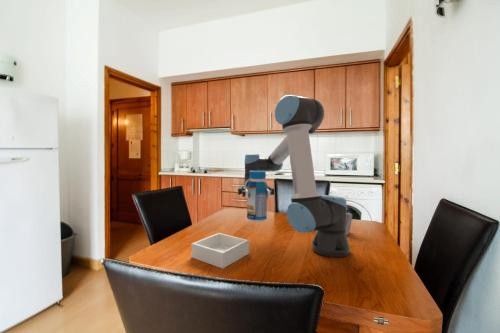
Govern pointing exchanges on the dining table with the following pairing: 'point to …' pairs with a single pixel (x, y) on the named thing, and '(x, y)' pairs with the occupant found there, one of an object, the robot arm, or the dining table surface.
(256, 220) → the beverage bottle
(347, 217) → the digital clock
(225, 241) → the box
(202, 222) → the dining table surface
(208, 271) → the dining table surface
